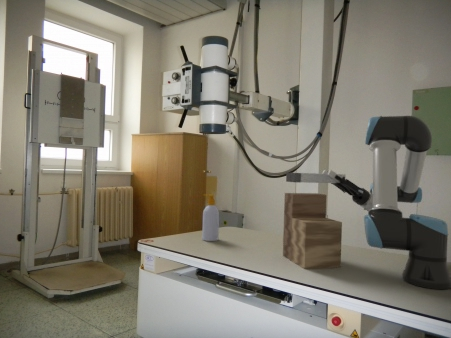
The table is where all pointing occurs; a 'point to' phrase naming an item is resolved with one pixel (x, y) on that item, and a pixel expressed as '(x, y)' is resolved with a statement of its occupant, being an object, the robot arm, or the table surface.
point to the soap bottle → (210, 221)
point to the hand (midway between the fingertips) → (326, 172)
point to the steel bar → (310, 178)
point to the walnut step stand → (310, 232)
